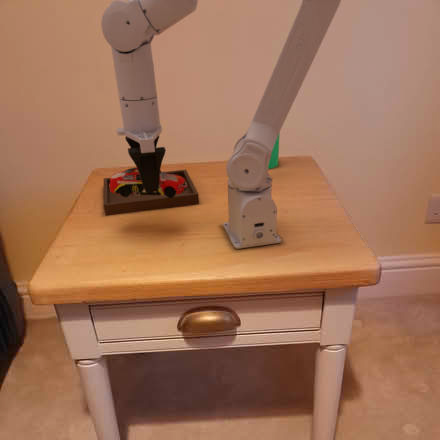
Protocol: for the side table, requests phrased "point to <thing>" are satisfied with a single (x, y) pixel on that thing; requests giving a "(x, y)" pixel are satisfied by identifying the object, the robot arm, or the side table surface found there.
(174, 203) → the tray
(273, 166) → the candle
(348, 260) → the side table surface
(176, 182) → the race car
